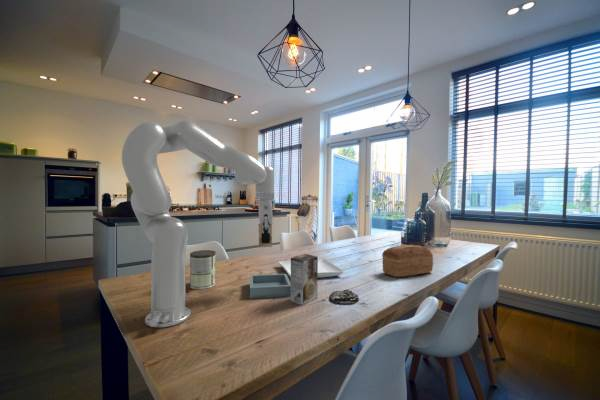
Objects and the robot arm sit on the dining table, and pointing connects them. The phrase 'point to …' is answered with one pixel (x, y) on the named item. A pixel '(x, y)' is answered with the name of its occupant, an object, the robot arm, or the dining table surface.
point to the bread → (407, 260)
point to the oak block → (261, 237)
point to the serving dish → (269, 286)
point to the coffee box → (304, 278)
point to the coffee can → (202, 269)
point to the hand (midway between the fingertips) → (265, 241)
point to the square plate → (323, 268)
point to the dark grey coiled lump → (343, 297)
